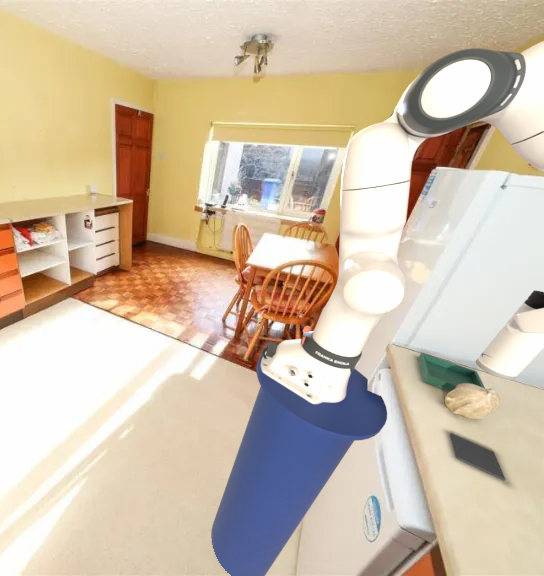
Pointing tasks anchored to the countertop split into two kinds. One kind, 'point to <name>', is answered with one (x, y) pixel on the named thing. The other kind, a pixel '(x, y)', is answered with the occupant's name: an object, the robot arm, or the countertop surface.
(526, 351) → the travel mug
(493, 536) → the countertop surface
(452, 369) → the tray
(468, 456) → the mat
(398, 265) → the robot arm
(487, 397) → the garlic bulb
